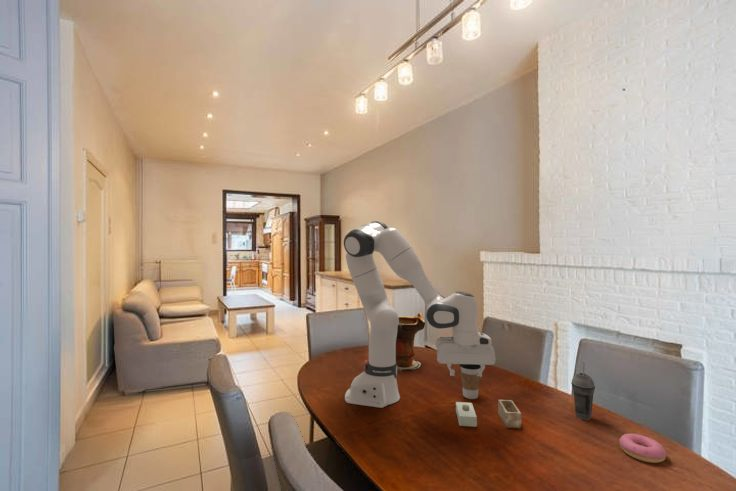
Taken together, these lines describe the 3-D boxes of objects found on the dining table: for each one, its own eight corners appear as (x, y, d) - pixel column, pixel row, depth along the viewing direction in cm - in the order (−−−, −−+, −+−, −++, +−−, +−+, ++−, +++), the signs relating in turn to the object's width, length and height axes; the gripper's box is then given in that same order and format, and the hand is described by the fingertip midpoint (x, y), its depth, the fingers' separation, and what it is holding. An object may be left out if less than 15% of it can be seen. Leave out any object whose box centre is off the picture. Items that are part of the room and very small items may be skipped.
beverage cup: (592, 414, 125) (591, 359, 125) (598, 423, 118) (597, 365, 118) (569, 411, 127) (568, 357, 128) (574, 420, 121) (573, 363, 121)
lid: (459, 426, 118) (459, 413, 118) (455, 411, 128) (455, 399, 128) (476, 427, 117) (476, 414, 117) (471, 412, 128) (471, 400, 128)
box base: (506, 427, 116) (505, 412, 116) (498, 413, 126) (498, 399, 126) (521, 428, 116) (521, 413, 116) (512, 413, 126) (512, 400, 126)
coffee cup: (482, 401, 136) (482, 363, 136) (460, 399, 138) (460, 362, 138) (479, 392, 144) (479, 356, 144) (459, 390, 146) (458, 355, 146)
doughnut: (676, 463, 97) (676, 448, 97) (645, 468, 95) (645, 453, 95) (638, 441, 108) (638, 428, 108) (610, 446, 105) (609, 432, 105)
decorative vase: (430, 371, 168) (427, 314, 169) (384, 373, 169) (380, 316, 169) (424, 357, 189) (421, 307, 189) (382, 359, 189) (379, 309, 190)
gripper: (436, 339, 121) (437, 378, 121) (496, 340, 118) (497, 380, 118) (435, 334, 127) (435, 371, 127) (492, 335, 125) (492, 373, 125)
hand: (465, 375), depth 123 cm, fingers open, 8 cm apart
